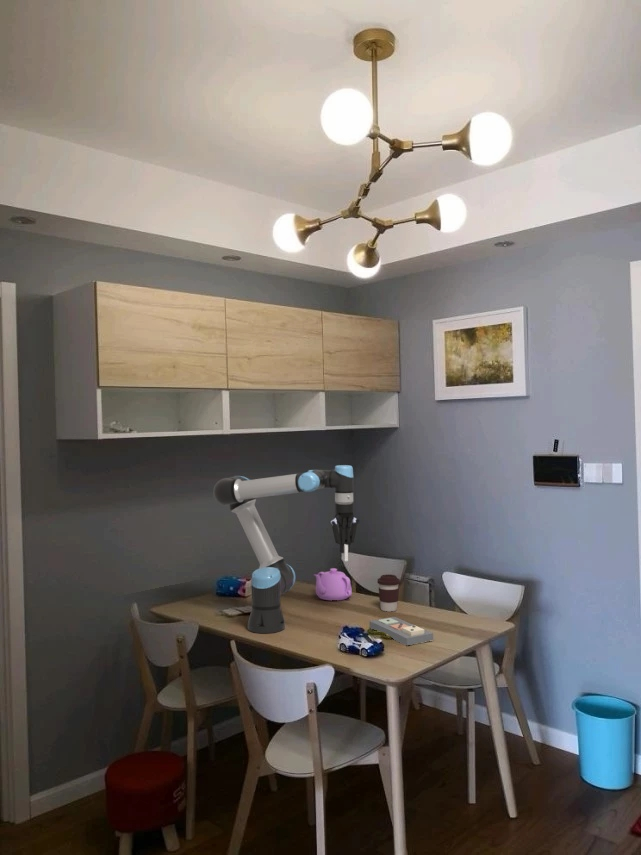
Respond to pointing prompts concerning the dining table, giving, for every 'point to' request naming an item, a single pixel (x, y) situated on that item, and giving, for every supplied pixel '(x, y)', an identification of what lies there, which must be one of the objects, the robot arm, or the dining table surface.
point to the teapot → (333, 585)
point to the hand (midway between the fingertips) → (344, 560)
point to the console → (400, 632)
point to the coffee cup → (388, 592)
